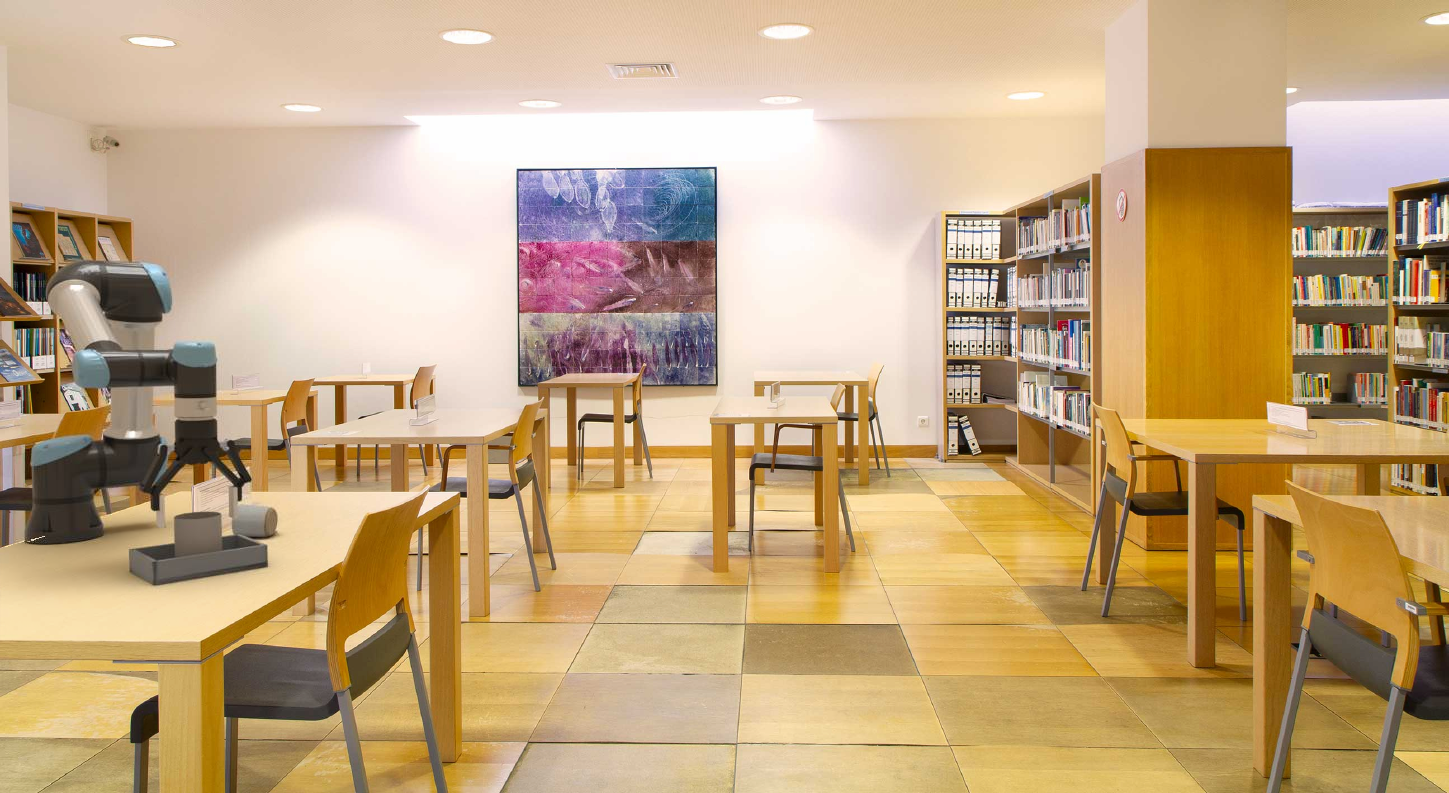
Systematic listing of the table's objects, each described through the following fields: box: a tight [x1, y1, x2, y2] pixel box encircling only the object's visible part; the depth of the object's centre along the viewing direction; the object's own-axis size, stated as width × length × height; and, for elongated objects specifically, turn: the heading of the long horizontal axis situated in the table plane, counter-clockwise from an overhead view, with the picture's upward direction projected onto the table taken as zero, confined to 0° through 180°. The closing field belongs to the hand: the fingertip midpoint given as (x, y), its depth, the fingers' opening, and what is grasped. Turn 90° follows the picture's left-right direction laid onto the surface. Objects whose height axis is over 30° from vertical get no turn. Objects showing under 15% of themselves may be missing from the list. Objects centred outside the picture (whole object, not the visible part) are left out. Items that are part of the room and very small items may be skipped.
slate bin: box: [128, 534, 269, 586], centre depth 193 cm, size 15×21×4 cm
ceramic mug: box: [231, 504, 279, 538], centre depth 225 cm, size 11×8×8 cm
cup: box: [173, 511, 223, 558], centre depth 193 cm, size 8×8×10 cm
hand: (198, 522), depth 192 cm, fingers open, 13 cm apart
